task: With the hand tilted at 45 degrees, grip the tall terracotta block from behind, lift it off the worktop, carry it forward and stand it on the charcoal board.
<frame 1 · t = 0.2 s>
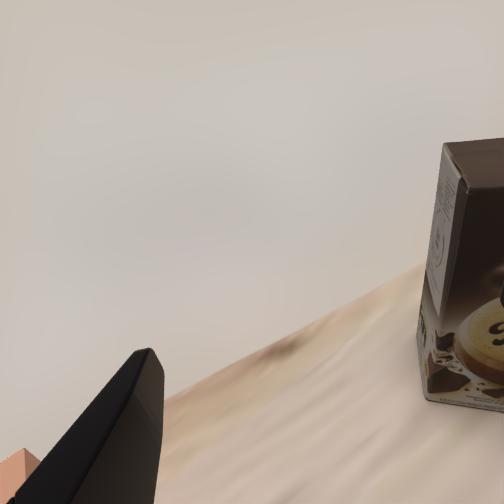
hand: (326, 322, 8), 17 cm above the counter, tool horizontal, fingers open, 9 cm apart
coffee box: (490, 374, 23), on the counter
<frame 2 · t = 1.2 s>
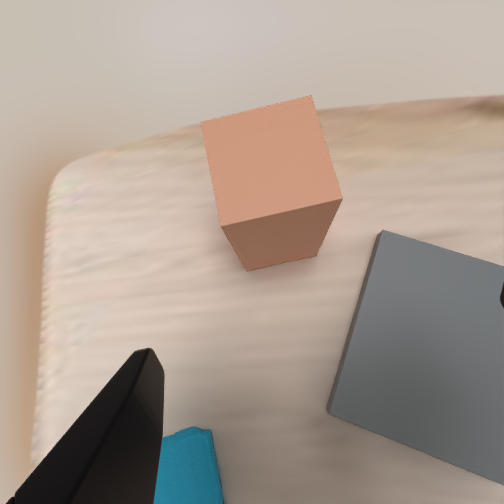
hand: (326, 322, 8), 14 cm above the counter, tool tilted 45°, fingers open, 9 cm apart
sponge: (132, 487, 20), on the counter
slate board: (430, 344, 20), on the counter
terracotta block: (273, 230, 23), on the counter
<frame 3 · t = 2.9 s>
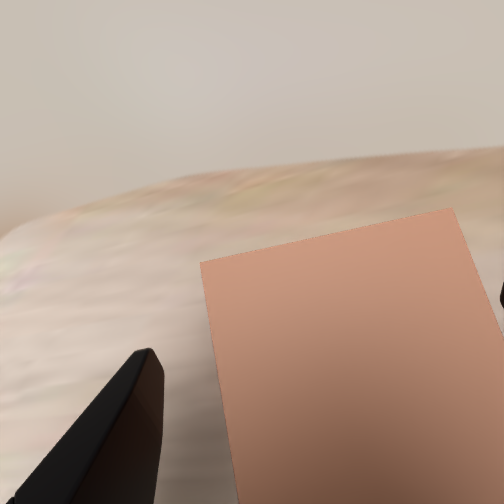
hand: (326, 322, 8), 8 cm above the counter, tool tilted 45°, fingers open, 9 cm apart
terracotta block: (310, 344, 15), on the counter
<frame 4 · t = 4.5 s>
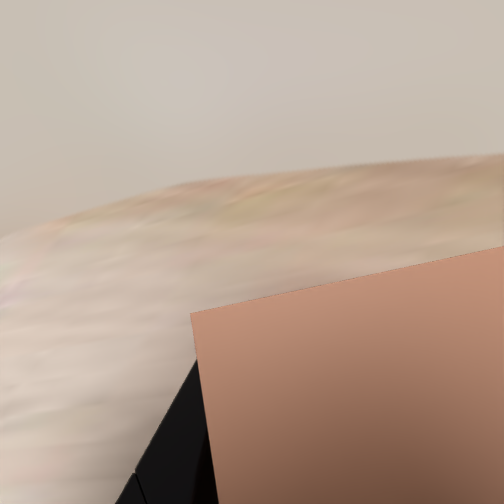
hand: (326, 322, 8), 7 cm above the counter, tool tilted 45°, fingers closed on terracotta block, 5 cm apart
terracotta block: (317, 368, 14), on the counter, touching gripper
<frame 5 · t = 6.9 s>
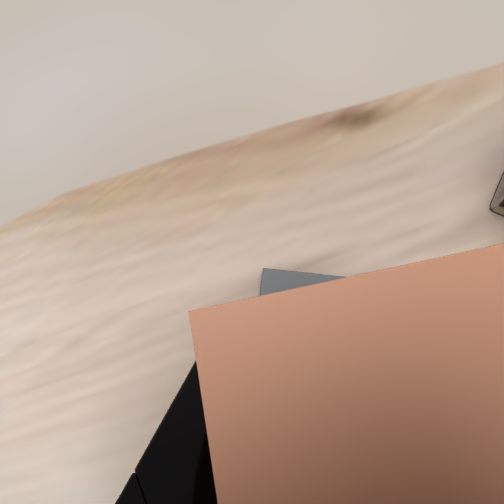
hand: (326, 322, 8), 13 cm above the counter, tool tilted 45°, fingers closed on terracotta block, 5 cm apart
slate board: (330, 371, 20), on the counter
terracotta block: (316, 368, 14), point 7 cm above the counter, touching gripper
when the fingers open (9 cm above the counter, at t = 9.0 s): terracotta block drops 1 cm, resting on slate board.
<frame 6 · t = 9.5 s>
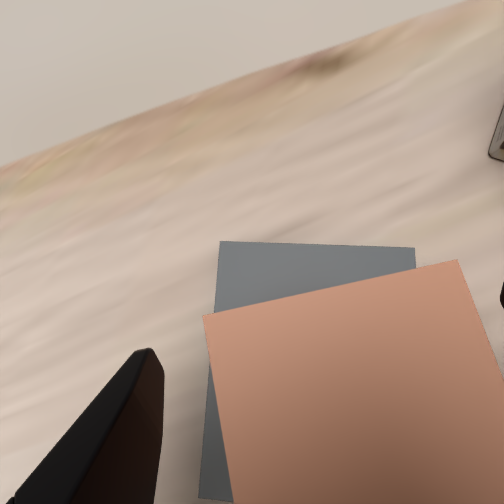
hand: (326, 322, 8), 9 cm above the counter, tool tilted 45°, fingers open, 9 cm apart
slate board: (310, 362, 16), on the counter
terracotta block: (311, 364, 15), point 1 cm above the counter, touching slate board
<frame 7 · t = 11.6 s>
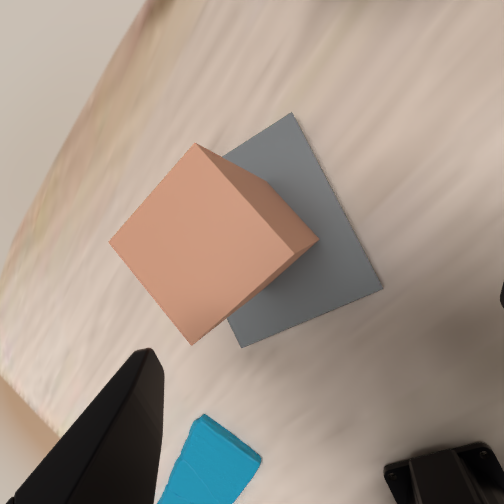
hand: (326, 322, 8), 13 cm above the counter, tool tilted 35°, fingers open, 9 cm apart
sponge: (200, 481, 26), on the counter
slate board: (269, 236, 22), on the counter
terracotta block: (264, 236, 21), point 1 cm above the counter, touching slate board
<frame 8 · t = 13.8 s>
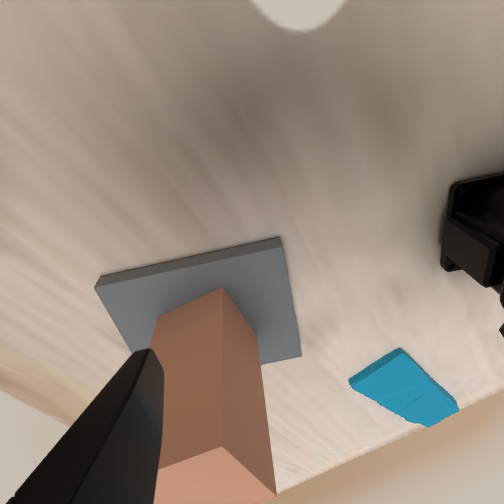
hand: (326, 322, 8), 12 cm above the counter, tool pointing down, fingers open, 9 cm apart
sponge: (401, 387, 30), on the counter
slate board: (209, 314, 23), on the counter
terracotta block: (208, 326, 22), point 1 cm above the counter, touching slate board
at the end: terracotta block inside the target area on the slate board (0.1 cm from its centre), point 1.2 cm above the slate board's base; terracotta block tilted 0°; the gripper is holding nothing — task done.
